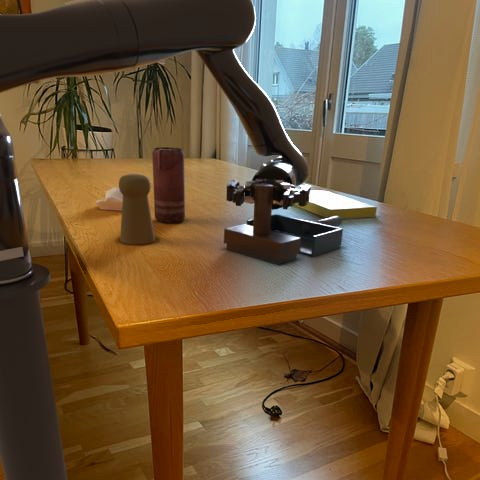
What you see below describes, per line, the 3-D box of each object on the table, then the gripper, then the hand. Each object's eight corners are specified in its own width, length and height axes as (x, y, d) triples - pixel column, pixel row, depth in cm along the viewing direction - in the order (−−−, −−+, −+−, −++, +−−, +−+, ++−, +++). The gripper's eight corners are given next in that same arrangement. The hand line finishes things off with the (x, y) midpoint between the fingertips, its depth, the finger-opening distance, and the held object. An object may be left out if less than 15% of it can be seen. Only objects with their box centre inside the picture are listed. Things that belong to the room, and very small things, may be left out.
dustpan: (313, 256, 77) (315, 236, 76) (245, 238, 86) (246, 220, 85) (371, 236, 91) (374, 219, 89) (307, 222, 100) (309, 207, 98)
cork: (123, 245, 79) (118, 177, 75) (117, 236, 84) (112, 172, 80) (158, 243, 82) (156, 176, 77) (151, 234, 87) (148, 171, 82)
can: (149, 222, 95) (145, 148, 90) (163, 215, 101) (161, 146, 95) (176, 225, 94) (175, 150, 88) (189, 218, 99) (189, 147, 93)
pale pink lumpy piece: (103, 192, 99) (88, 185, 106) (105, 213, 101) (90, 205, 108) (147, 189, 104) (130, 182, 112) (148, 209, 106) (131, 201, 113)
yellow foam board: (375, 216, 108) (320, 197, 128) (377, 206, 107) (321, 189, 127) (329, 219, 103) (279, 199, 123) (330, 209, 102) (280, 190, 122)
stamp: (279, 265, 72) (284, 192, 68) (223, 249, 80) (225, 181, 75) (299, 259, 76) (305, 188, 71) (243, 243, 83) (246, 178, 78)
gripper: (236, 161, 86) (215, 172, 71) (316, 165, 84) (311, 178, 69) (235, 202, 89) (214, 221, 75) (312, 208, 87) (306, 229, 72)
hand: (261, 200), depth 72 cm, fingers open, 6 cm apart
